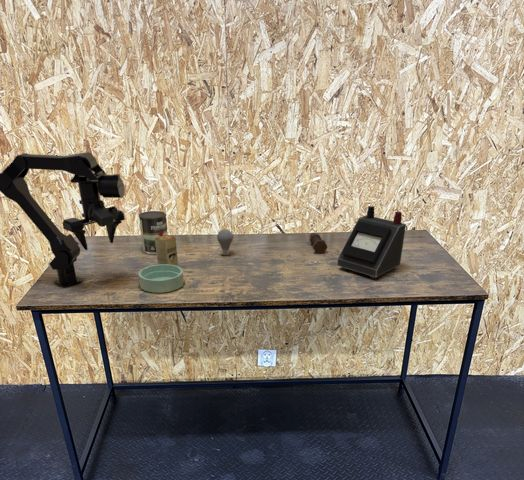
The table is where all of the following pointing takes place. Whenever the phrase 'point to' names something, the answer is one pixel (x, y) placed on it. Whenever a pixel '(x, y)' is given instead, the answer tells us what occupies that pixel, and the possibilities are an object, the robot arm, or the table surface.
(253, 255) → the table surface
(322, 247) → the bolt
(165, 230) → the coffee can
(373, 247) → the voltmeter
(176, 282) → the basin
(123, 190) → the robot arm
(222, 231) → the light bulb
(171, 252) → the shoe polish box
